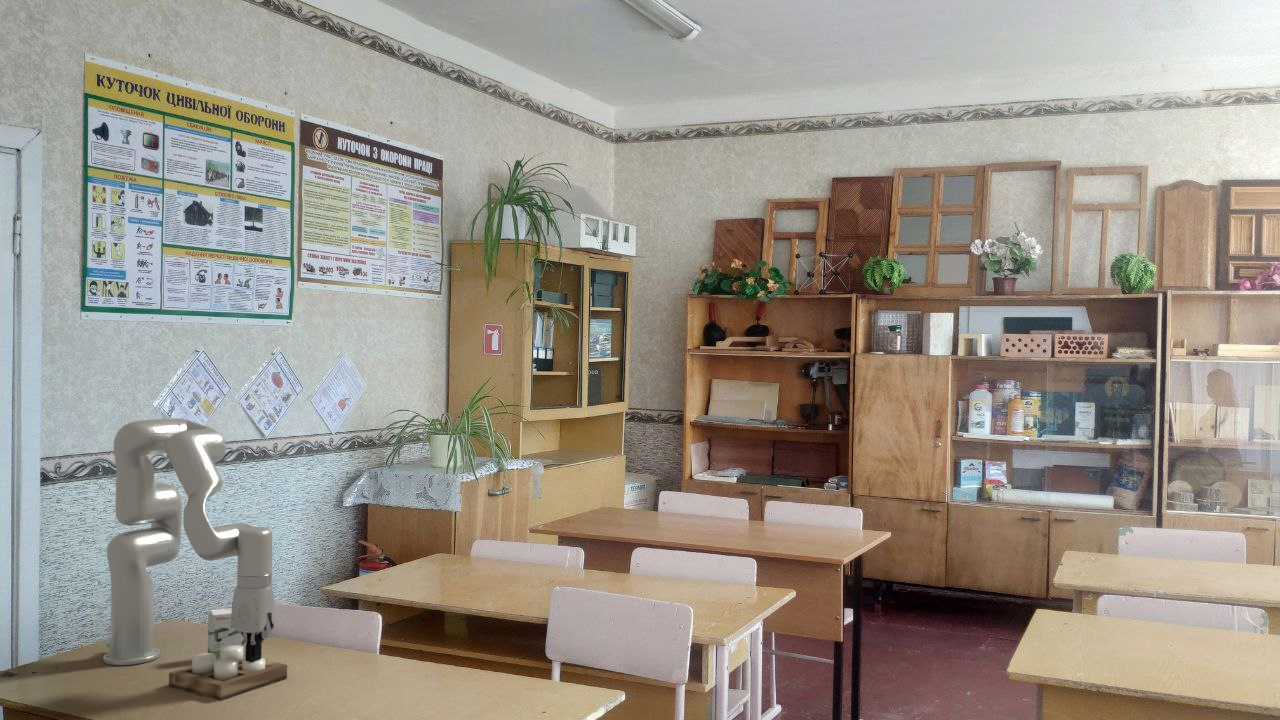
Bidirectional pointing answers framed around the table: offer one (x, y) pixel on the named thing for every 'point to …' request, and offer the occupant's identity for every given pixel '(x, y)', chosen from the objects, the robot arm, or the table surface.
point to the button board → (230, 687)
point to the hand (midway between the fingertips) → (253, 660)
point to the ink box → (222, 632)
